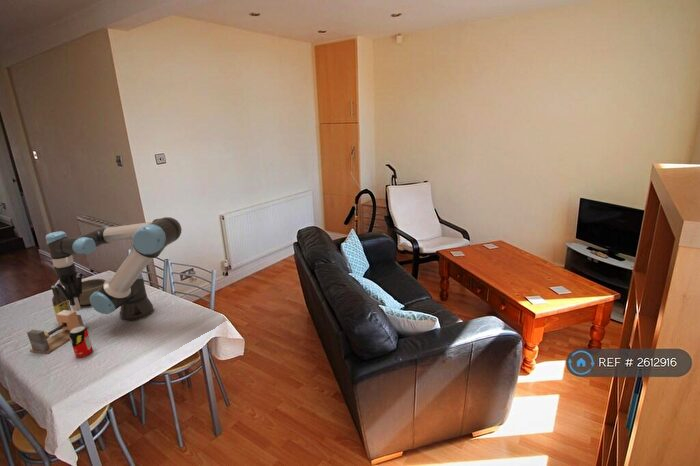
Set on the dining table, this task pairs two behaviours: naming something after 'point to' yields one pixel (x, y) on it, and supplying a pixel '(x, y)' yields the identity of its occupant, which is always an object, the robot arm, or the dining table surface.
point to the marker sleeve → (68, 319)
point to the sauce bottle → (59, 301)
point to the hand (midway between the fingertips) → (77, 310)
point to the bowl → (89, 290)
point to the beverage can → (80, 341)
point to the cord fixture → (46, 345)
